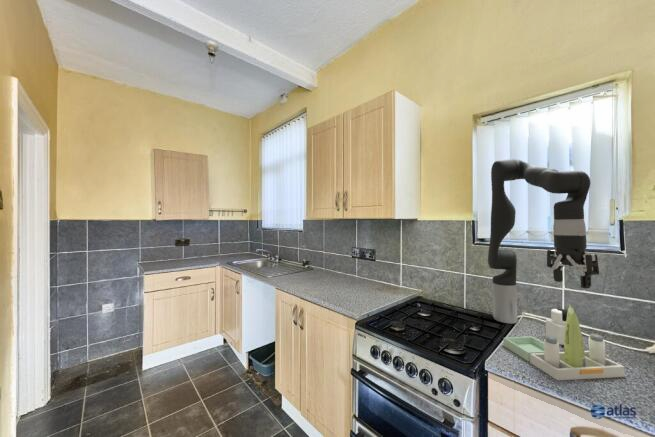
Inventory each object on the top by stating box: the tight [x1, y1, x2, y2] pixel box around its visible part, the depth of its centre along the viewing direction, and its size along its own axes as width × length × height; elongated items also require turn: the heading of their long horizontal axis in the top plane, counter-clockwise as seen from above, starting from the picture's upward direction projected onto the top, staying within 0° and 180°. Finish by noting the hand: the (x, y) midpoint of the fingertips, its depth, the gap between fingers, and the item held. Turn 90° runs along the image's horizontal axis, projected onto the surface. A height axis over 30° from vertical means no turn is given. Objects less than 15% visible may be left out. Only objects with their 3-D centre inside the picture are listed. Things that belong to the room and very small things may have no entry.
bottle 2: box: [588, 333, 607, 366], centre depth 81 cm, size 4×4×10 cm
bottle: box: [543, 335, 560, 369], centre depth 80 cm, size 4×4×10 cm
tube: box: [563, 304, 586, 368], centre depth 81 cm, size 6×5×20 cm
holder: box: [530, 350, 626, 381], centre depth 80 cm, size 10×21×3 cm, turn 93°
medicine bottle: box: [545, 308, 568, 346], centre depth 99 cm, size 7×7×12 cm
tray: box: [503, 336, 561, 363], centre depth 91 cm, size 11×11×3 cm
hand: (571, 284), depth 81 cm, fingers open, 8 cm apart
